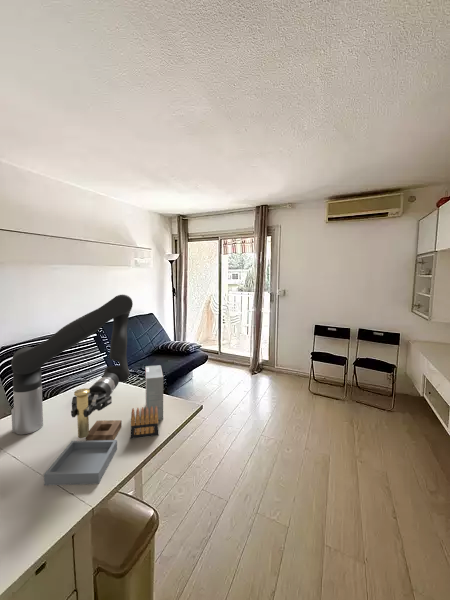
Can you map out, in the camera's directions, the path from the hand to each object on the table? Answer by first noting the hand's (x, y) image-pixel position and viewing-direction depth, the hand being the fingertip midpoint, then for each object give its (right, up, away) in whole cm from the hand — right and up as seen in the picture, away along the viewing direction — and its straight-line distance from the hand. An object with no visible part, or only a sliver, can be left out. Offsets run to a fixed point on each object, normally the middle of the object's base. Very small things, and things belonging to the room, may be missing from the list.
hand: (79, 414), depth 82 cm
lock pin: (0, -8, +3) cm, 9 cm away
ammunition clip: (+14, -18, +21) cm, 31 cm away
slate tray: (-1, -19, +4) cm, 20 cm away
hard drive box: (+13, -17, +39) cm, 45 cm away
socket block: (-2, -18, +21) cm, 28 cm away
